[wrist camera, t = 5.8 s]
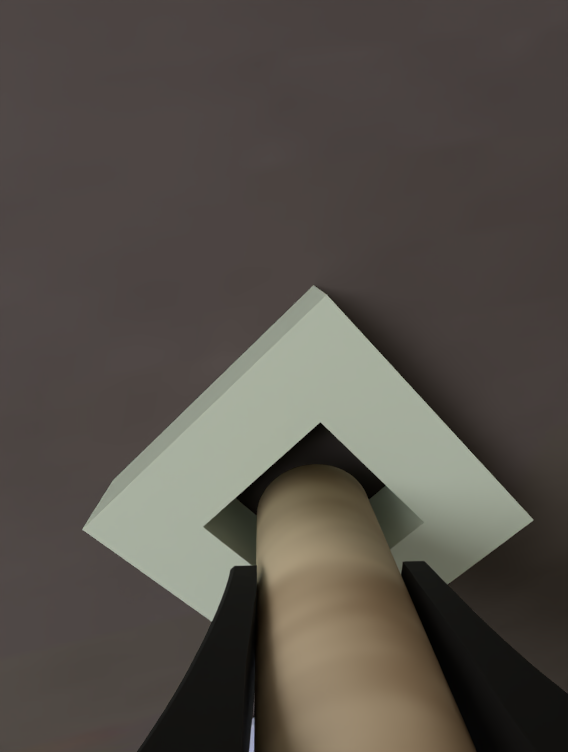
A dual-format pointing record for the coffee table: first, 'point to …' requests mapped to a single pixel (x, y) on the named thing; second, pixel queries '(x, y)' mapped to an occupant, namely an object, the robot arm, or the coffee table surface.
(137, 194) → the coffee table surface
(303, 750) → the peg
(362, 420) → the socket
